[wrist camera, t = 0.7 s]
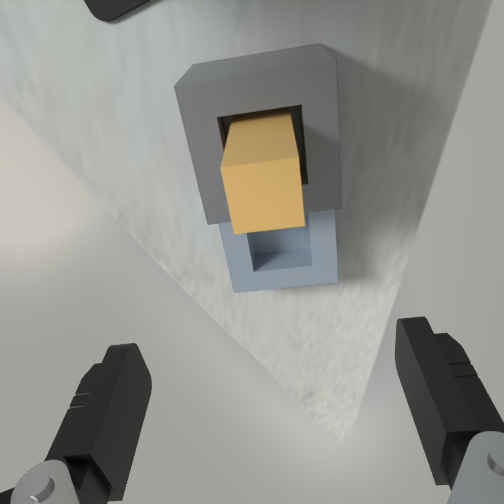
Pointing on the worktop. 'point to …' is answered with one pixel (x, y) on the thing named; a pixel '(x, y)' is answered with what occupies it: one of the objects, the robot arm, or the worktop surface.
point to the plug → (262, 172)
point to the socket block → (309, 151)
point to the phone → (112, 8)
